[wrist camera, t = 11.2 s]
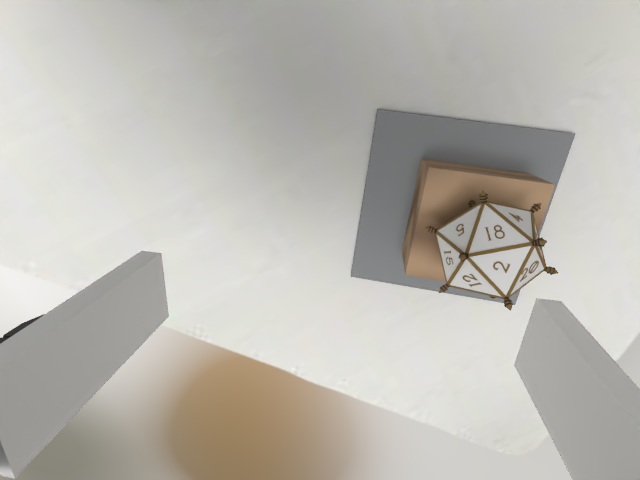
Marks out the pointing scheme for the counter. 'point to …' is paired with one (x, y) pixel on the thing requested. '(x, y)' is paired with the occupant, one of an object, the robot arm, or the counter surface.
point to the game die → (491, 249)
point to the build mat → (442, 145)
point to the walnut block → (461, 205)
